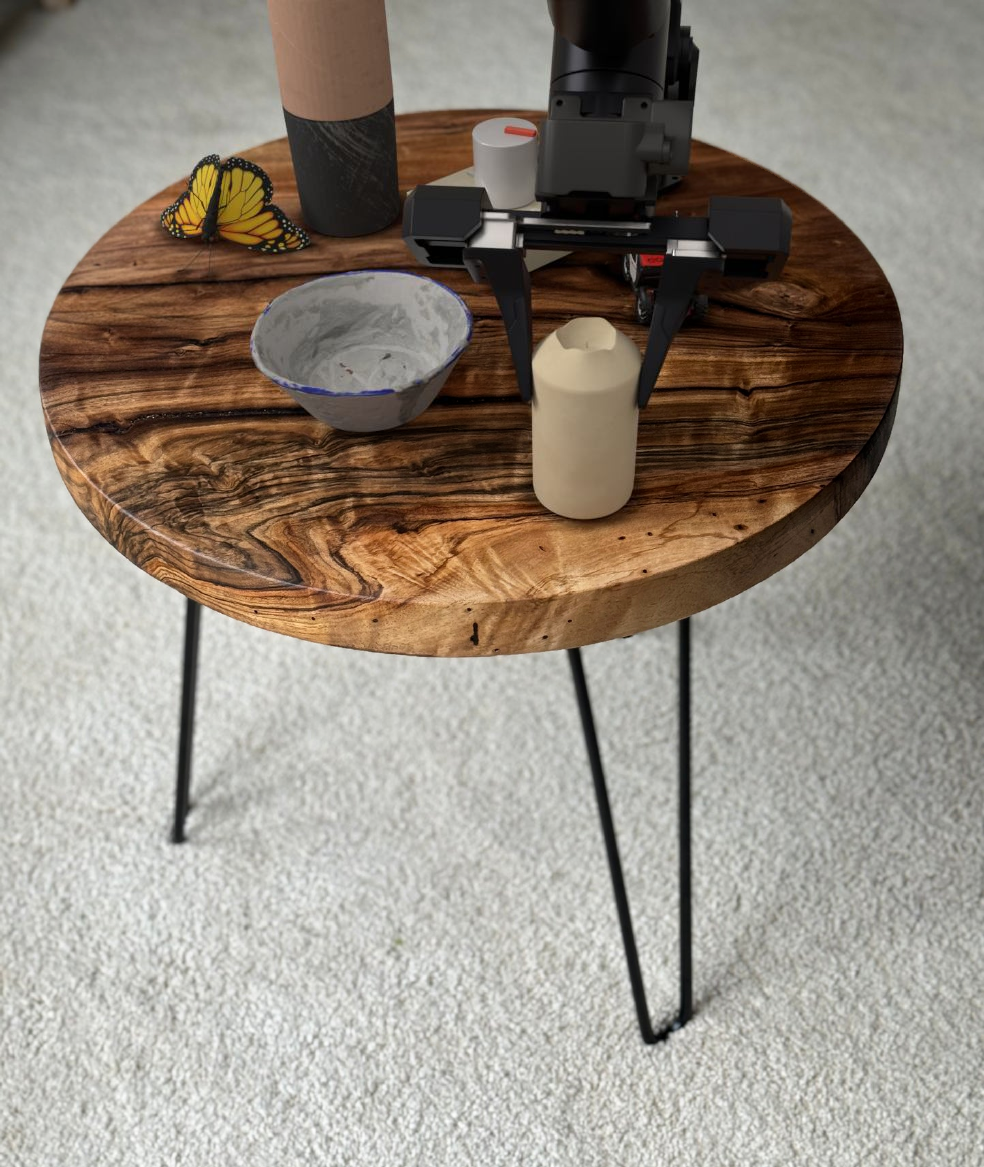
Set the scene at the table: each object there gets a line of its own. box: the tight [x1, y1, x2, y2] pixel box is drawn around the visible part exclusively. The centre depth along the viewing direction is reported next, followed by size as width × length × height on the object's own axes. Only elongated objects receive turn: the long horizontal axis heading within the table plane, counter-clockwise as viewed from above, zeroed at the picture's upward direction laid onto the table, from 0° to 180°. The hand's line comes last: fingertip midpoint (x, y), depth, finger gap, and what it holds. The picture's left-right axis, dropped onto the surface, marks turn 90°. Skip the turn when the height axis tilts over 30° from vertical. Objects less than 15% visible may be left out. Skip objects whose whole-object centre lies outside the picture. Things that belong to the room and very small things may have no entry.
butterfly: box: [159, 153, 311, 278], centre depth 86 cm, size 12×9×5 cm
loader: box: [614, 210, 709, 325], centre depth 80 cm, size 12×5×5 cm, turn 6°
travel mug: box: [266, 0, 400, 238], centre depth 83 cm, size 8×8×20 cm
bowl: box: [249, 269, 475, 433], centre depth 73 cm, size 13×13×5 cm
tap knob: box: [471, 116, 539, 209], centre depth 84 cm, size 4×4×5 cm
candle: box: [531, 316, 643, 520], centre depth 64 cm, size 6×6×10 cm
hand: (583, 405), depth 62 cm, fingers closed on candle, 5 cm apart
